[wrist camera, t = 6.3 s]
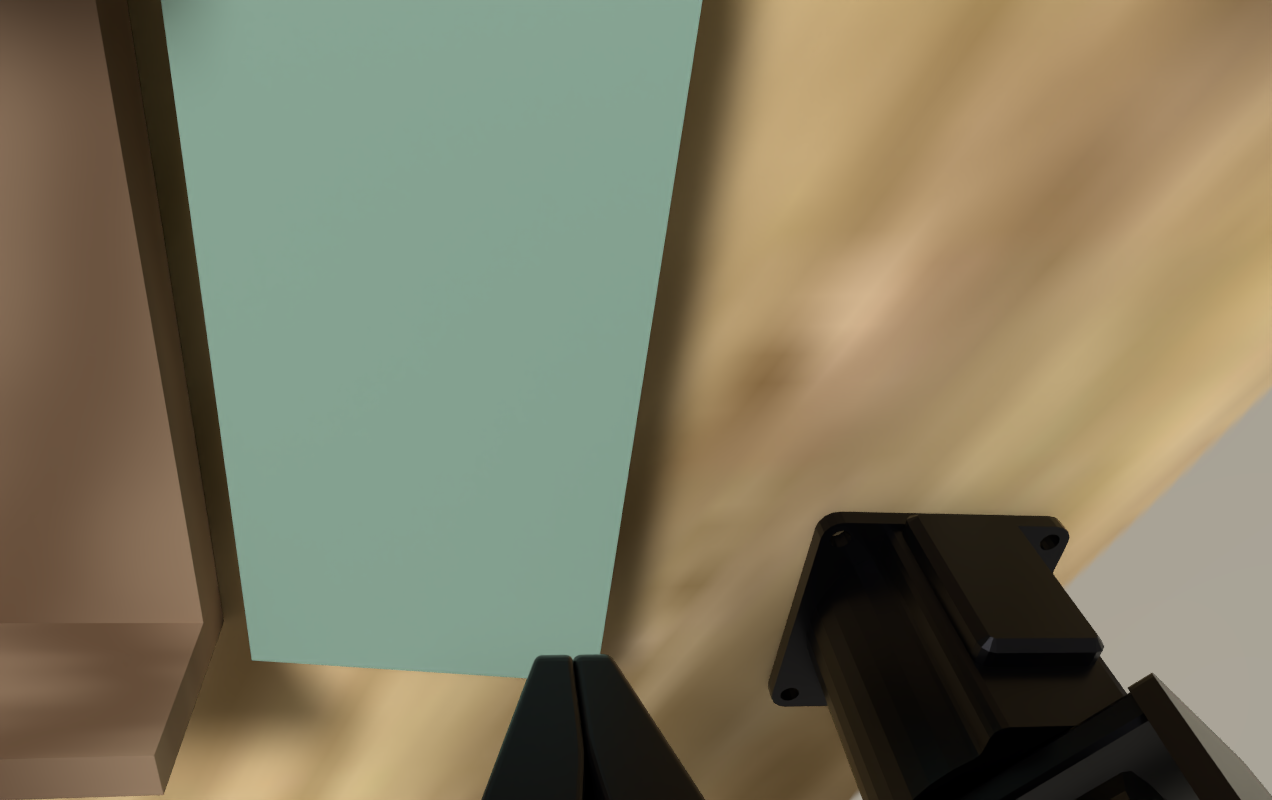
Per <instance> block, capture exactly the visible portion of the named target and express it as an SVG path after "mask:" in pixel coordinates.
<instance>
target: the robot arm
mask: <svg viewBox="0 0 1272 800" xmlns="http://www.w3.org/2000/svg"><path fill="white" fill-rule="evenodd" d="M838 531H843V532H842V533H841V534H839V535H836V536H832V535H833V534H835V533H836V532H838ZM1046 536H1047V537H1046ZM1068 540H1069V533H1068V531H1067V530H1066V529H1065V527H1064V526H1063V525H1062V524H1061V522H1060V521H1059V520H1058V519H1056V518H1055V517H1050V516H1010V515H965V514H919V513H873V512H835V513H831V514H829V515H827V516H825V517H824V518H822V519H821V520H820V521H819V522H818V524H817V526H816V528H815V531H814V535H813V538H812V541H811V544H810V548H809V551H808V554H807V558H806V561H805V564H804V567H803V571H802V574H801V577H800V580H799V584H798V587H797V590H796V593H795V597H794V600H793V603H792V607H791V610H790V613H789V616H788V620H787V623H786V626H785V629H784V633H783V636H782V639H781V643H780V646H779V649H778V652H777V656H776V659H775V662H774V665H773V669H772V672H771V675H770V678H769V682H768V689H769V692H770V695H771V698H772V700H773V702H774V703H775V704H777V705H779V706H785V707H787V706H828V707H829V710H830V713H831V715H832V718H833V721H834V724H835V726H836V729H837V732H838V734H839V737H840V740H841V742H842V745H843V748H844V751H845V753H846V756H847V759H848V761H849V764H850V767H851V770H852V772H853V775H854V778H855V780H856V783H857V786H858V788H859V791H860V794H861V796H862V799H863V800H1272V796H1271V794H1270V793H1269V792H1268V791H1267V790H1266V788H1265V787H1264V786H1263V785H1262V784H1261V782H1260V781H1259V780H1258V779H1257V777H1256V776H1255V775H1254V774H1253V772H1252V771H1251V770H1250V769H1249V768H1248V766H1247V765H1246V764H1245V763H1244V762H1243V761H1242V760H1241V759H1240V758H1239V757H1238V756H1237V755H1236V754H1235V753H1234V752H1233V751H1232V750H1231V749H1230V748H1229V747H1228V746H1227V745H1226V744H1225V743H1224V742H1223V741H1222V740H1221V739H1220V738H1219V737H1218V736H1217V735H1216V734H1215V733H1214V732H1213V731H1212V730H1211V729H1210V728H1208V726H1206V724H1205V723H1204V722H1202V721H1201V720H1200V719H1199V718H1198V717H1197V716H1196V715H1195V714H1194V713H1193V712H1192V711H1191V710H1190V709H1189V708H1188V707H1187V706H1186V705H1185V704H1184V703H1183V702H1182V701H1181V700H1180V699H1179V698H1178V697H1177V696H1176V695H1175V694H1174V693H1173V692H1172V691H1171V690H1170V689H1169V688H1168V687H1167V686H1166V685H1165V684H1164V683H1163V682H1162V681H1161V680H1159V678H1157V676H1155V675H1154V674H1153V673H1151V674H1149V675H1148V676H1146V677H1144V678H1143V679H1141V680H1139V681H1138V682H1136V683H1134V684H1133V685H1131V686H1130V687H1128V689H1129V691H1130V693H1128V694H1127V693H1126V692H1125V690H1124V689H1123V688H1122V686H1121V685H1120V683H1119V682H1118V681H1117V679H1116V678H1115V676H1114V675H1113V674H1112V672H1111V671H1110V670H1109V668H1108V667H1107V665H1106V664H1105V662H1104V661H1103V660H1102V658H1101V657H1100V654H1101V652H1102V651H1103V648H1104V645H1103V643H1102V640H1101V639H1100V638H1099V636H1098V635H1097V633H1096V632H1095V631H1094V629H1093V628H1092V627H1091V625H1090V624H1089V623H1088V621H1087V620H1086V619H1085V617H1084V616H1083V614H1082V613H1081V612H1080V610H1079V609H1078V608H1077V606H1076V605H1075V603H1074V602H1073V601H1072V600H1071V598H1070V597H1069V595H1068V594H1067V593H1066V591H1065V590H1064V588H1063V587H1062V586H1061V584H1060V583H1059V582H1058V580H1057V579H1056V578H1055V576H1054V575H1053V571H1054V569H1055V567H1056V565H1057V563H1058V561H1059V559H1060V557H1061V555H1062V553H1063V551H1064V549H1065V547H1066V545H1067V543H1068ZM481 800H705V799H704V797H703V796H702V794H701V793H700V791H699V790H698V788H697V787H696V785H695V783H694V782H693V780H692V779H691V777H690V776H689V774H688V773H687V771H686V770H685V768H684V767H683V765H682V764H681V762H680V760H679V759H678V757H677V756H676V754H675V753H674V751H673V750H672V748H671V747H670V745H669V744H668V742H667V741H666V739H665V737H664V736H663V734H662V733H661V731H660V730H659V728H658V727H657V725H656V724H655V722H654V721H653V719H652V718H651V716H650V714H649V713H648V711H647V710H646V708H645V707H644V705H643V704H642V702H641V701H640V699H639V698H638V696H637V695H636V693H635V691H634V690H633V688H632V687H631V685H630V684H629V682H628V681H627V679H626V678H625V676H624V675H623V673H622V672H621V670H620V668H619V667H618V665H617V664H616V662H615V661H614V660H613V658H612V657H610V656H609V655H605V654H584V655H577V656H576V657H575V658H574V659H572V658H571V657H570V656H569V655H539V656H538V657H536V658H535V660H534V662H533V664H532V667H531V670H530V672H529V675H528V678H527V680H526V683H525V685H524V688H523V691H522V693H521V696H520V699H519V701H518V704H517V707H516V709H515V712H514V715H513V717H512V720H511V723H510V725H509V728H508V731H507V733H506V736H505V739H504V741H503V744H502V746H501V749H500V752H499V754H498V757H497V760H496V762H495V765H494V768H493V770H492V773H491V776H490V778H489V781H488V784H487V786H486V789H485V792H484V794H483V797H482V799H481Z"/></svg>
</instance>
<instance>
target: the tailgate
mask: <svg viewBox="0 0 1272 800" xmlns="http://www.w3.org/2000/svg"><path fill="white" fill-rule="evenodd" d="M161 4H162V12H163V19H164V26H165V33H166V41H167V48H168V55H169V62H170V70H171V77H172V84H173V91H174V99H175V106H176V113H177V121H178V128H179V135H180V142H181V150H182V157H183V164H184V171H185V179H186V186H187V193H188V200H189V208H190V215H191V222H192V230H193V237H194V244H195V251H196V259H197V266H198V273H199V280H200V288H201V295H202V302H203V309H204V317H205V324H206V331H207V339H208V346H209V353H210V360H211V368H212V375H213V382H214V389H215V397H216V404H217V411H218V418H219V426H220V433H221V440H222V448H223V455H224V462H225V469H226V477H227V484H228V491H229V498H230V506H231V513H232V520H233V527H234V535H235V542H236V549H237V556H238V564H239V571H240V578H241V586H242V593H243V600H244V607H245V615H246V622H247V629H248V636H249V644H250V651H251V658H252V660H254V661H269V662H285V663H300V664H315V665H331V666H346V667H361V668H377V669H392V670H407V671H423V672H438V673H453V674H469V675H484V676H500V677H515V678H528V675H529V672H530V670H531V667H532V664H533V662H534V660H535V658H536V657H538V656H539V655H569V656H570V657H571V658H572V659H574V658H575V657H576V656H577V655H584V654H600V651H601V645H602V638H603V632H604V626H605V619H606V613H607V606H608V600H609V594H610V587H611V581H612V574H613V568H614V562H615V555H616V549H617V543H618V536H619V530H620V523H621V517H622V511H623V504H624V498H625V491H626V485H627V479H628V472H629V466H630V460H631V453H632V447H633V440H634V434H635V428H636V421H637V415H638V408H639V402H640V396H641V389H642V383H643V377H644V370H645V364H646V357H647V351H648V345H649V338H650V332H651V326H652V319H653V313H654V306H655V300H656V294H657V287H658V281H659V274H660V268H661V262H662V255H663V249H664V243H665V236H666V230H667V223H668V217H669V211H670V204H671V198H672V191H673V185H674V179H675V172H676V166H677V160H678V153H679V147H680V140H681V134H682V128H683V121H684V115H685V109H686V102H687V96H688V89H689V83H690V77H691V70H692V64H693V57H694V51H695V45H696V38H697V32H698V26H699V19H700V13H701V6H702V0H161Z"/></svg>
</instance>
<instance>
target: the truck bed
mask: <svg viewBox="0 0 1272 800" xmlns="http://www.w3.org/2000/svg"><path fill="white" fill-rule="evenodd" d="M223 622H224V619H223V613H222V607H221V600H220V594H219V587H218V581H217V575H216V568H215V562H214V555H213V549H212V543H211V536H210V530H209V523H208V517H207V510H206V504H205V498H204V491H203V485H202V478H201V472H200V466H199V459H198V453H197V446H196V440H195V434H194V427H193V421H192V414H191V408H190V402H189V395H188V389H187V382H186V376H185V370H184V363H183V357H182V350H181V344H180V338H179V331H178V325H177V318H176V312H175V306H174V299H173V293H172V286H171V280H170V274H169V267H168V261H167V254H166V248H165V242H164V235H163V229H162V222H161V216H160V210H159V203H158V197H157V190H156V184H155V178H154V171H153V165H152V158H151V152H150V146H149V139H148V133H147V126H146V120H145V114H144V107H143V101H142V94H141V88H140V82H139V75H138V69H137V62H136V56H135V50H134V43H133V37H132V30H131V24H130V17H129V11H128V5H127V0H0V800H23V799H54V798H85V797H116V796H147V795H164V792H165V789H166V786H167V783H168V781H169V778H170V775H171V772H172V769H173V766H174V763H175V760H176V758H177V755H178V752H179V749H180V746H181V743H182V740H183V737H184V734H185V732H186V729H187V726H188V723H189V720H190V717H191V714H192V711H193V709H194V706H195V703H196V700H197V697H198V694H199V691H200V688H201V686H202V683H203V680H204V677H205V674H206V671H207V668H208V665H209V662H210V660H211V657H212V654H213V651H214V648H215V645H216V642H217V639H218V637H219V634H220V631H221V628H222V625H223Z"/></svg>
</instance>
